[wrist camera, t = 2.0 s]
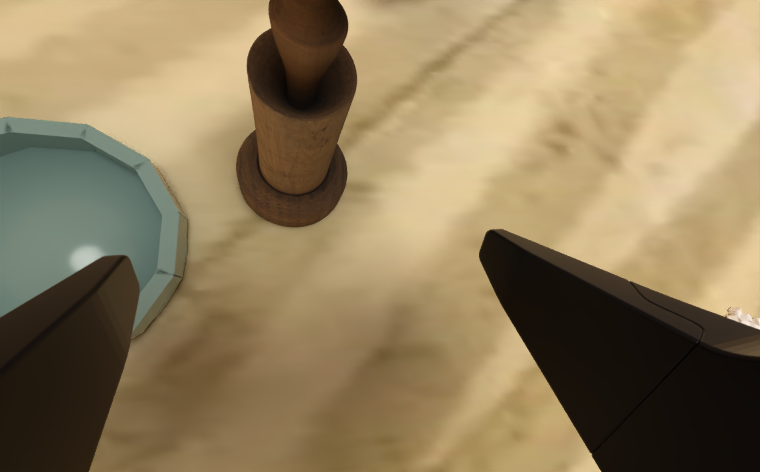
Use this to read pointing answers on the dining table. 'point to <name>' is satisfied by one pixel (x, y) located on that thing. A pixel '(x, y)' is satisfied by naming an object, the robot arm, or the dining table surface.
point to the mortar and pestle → (297, 113)
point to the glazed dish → (83, 213)
